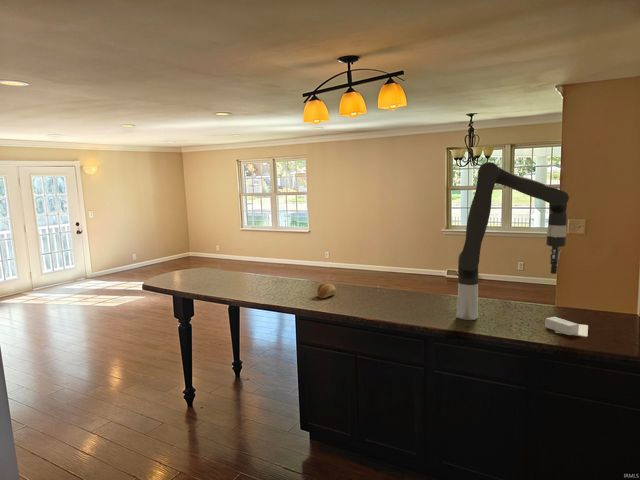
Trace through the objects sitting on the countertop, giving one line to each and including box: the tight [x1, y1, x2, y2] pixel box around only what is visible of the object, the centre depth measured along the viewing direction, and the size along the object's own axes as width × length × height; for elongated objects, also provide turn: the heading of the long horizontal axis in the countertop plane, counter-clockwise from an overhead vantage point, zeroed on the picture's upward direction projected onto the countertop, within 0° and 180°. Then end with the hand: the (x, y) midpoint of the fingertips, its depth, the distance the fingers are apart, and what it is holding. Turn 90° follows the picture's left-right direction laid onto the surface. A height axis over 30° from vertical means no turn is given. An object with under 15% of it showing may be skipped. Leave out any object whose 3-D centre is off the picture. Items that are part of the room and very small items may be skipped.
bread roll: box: [316, 282, 337, 299], centre depth 257 cm, size 10×15×8 cm, turn 150°
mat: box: [554, 323, 589, 338], centre depth 190 cm, size 12×16×1 cm
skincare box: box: [544, 316, 579, 336], centre depth 188 cm, size 6×4×12 cm
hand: (553, 273), depth 193 cm, fingers closed
